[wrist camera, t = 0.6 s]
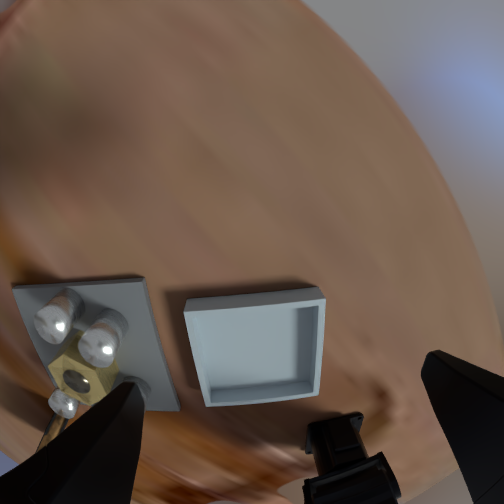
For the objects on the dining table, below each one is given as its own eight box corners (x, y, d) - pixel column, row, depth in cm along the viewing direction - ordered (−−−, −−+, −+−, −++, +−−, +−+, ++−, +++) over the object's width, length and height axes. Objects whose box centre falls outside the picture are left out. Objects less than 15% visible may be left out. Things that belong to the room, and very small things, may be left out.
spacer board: (180, 405, 26) (179, 411, 25) (66, 396, 25) (63, 401, 24) (144, 277, 21) (141, 281, 20) (16, 285, 20) (11, 289, 20)
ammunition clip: (56, 438, 28) (31, 499, 17) (45, 431, 28) (18, 491, 16) (72, 412, 26) (39, 487, 15) (59, 403, 25) (23, 477, 14)
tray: (313, 380, 25) (318, 395, 24) (207, 391, 25) (206, 406, 23) (318, 286, 22) (325, 298, 20) (187, 298, 22) (183, 311, 20)
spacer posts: (159, 410, 25) (152, 441, 21) (77, 403, 24) (65, 428, 20) (117, 284, 20) (97, 310, 16) (25, 289, 20) (1, 310, 16)
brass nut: (124, 381, 23) (113, 408, 20) (80, 378, 23) (67, 402, 20) (104, 330, 21) (88, 356, 18) (58, 329, 21) (40, 352, 18)
